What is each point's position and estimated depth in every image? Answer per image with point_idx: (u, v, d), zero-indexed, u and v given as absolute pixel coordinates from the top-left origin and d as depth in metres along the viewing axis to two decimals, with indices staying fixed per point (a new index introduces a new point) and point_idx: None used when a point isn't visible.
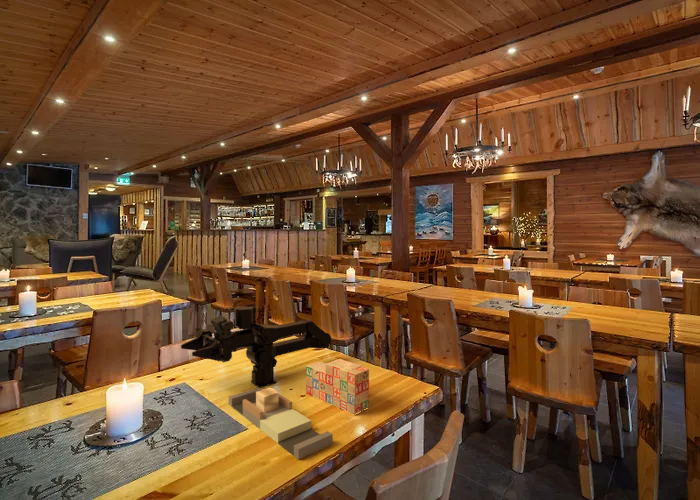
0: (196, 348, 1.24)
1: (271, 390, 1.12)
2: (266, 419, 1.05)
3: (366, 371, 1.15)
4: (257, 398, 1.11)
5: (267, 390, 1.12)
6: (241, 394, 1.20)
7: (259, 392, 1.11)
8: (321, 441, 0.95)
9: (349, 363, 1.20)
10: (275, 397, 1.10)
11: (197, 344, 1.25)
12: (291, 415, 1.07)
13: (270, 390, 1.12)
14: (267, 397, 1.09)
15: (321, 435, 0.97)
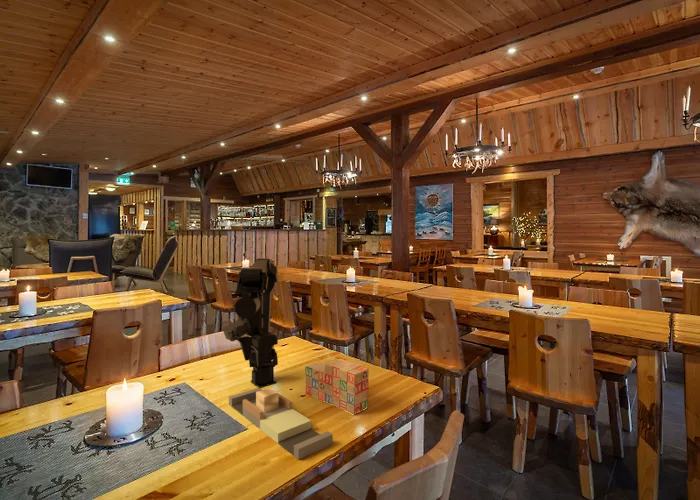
0: (251, 343, 1.21)
1: (271, 390, 1.12)
2: (266, 419, 1.05)
3: (365, 371, 1.15)
4: (257, 398, 1.11)
5: (267, 390, 1.12)
6: (241, 394, 1.20)
7: (259, 392, 1.11)
8: (321, 441, 0.95)
9: (348, 363, 1.20)
10: (275, 397, 1.10)
11: (247, 343, 1.20)
12: (291, 415, 1.07)
13: (270, 390, 1.12)
14: (267, 397, 1.09)
15: (321, 435, 0.97)
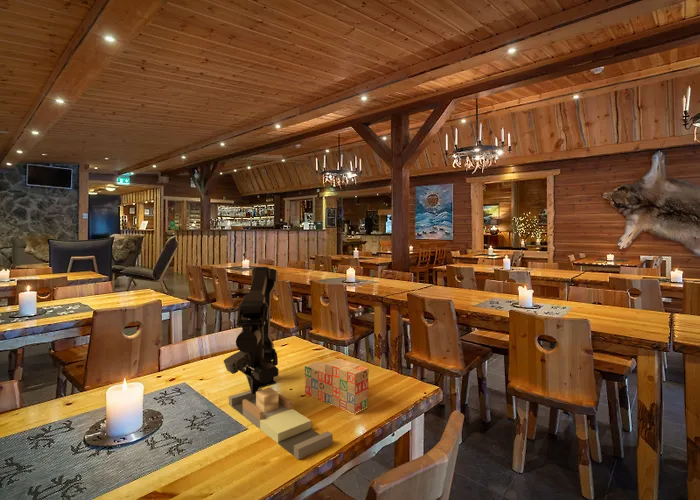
0: None
1: (271, 390, 1.12)
2: (266, 419, 1.05)
3: (365, 370, 1.16)
4: (257, 398, 1.11)
5: (267, 390, 1.12)
6: (241, 394, 1.20)
7: (259, 392, 1.11)
8: (321, 441, 0.95)
9: (348, 363, 1.21)
10: (275, 397, 1.10)
11: None
12: (291, 415, 1.07)
13: (270, 390, 1.12)
14: (267, 397, 1.09)
15: (321, 435, 0.97)
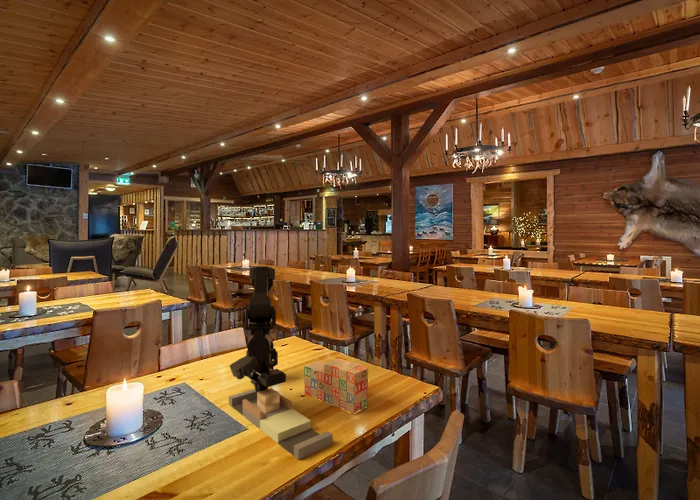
0: None
1: (272, 391, 1.12)
2: (266, 419, 1.05)
3: (365, 370, 1.16)
4: (258, 398, 1.10)
5: (268, 391, 1.12)
6: (241, 394, 1.20)
7: (260, 393, 1.10)
8: (321, 441, 0.95)
9: (348, 362, 1.21)
10: (276, 397, 1.10)
11: None
12: (291, 415, 1.07)
13: (271, 391, 1.12)
14: (268, 397, 1.08)
15: (321, 435, 0.97)
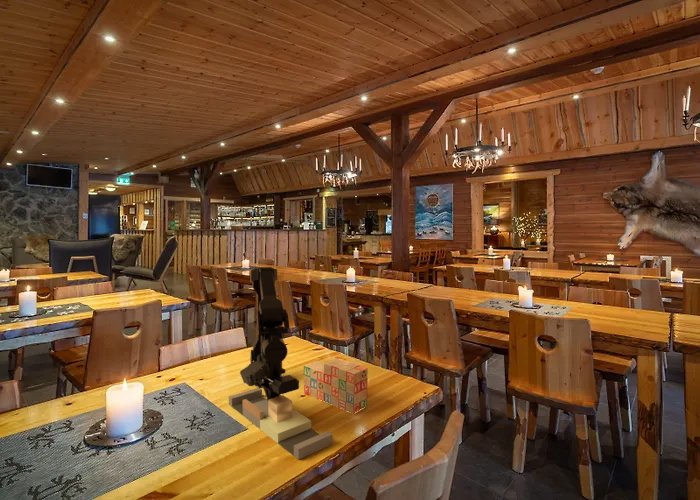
0: None
1: (284, 398, 1.07)
2: (266, 419, 1.05)
3: (364, 370, 1.16)
4: (269, 406, 1.06)
5: (280, 398, 1.07)
6: (241, 394, 1.20)
7: (272, 400, 1.06)
8: (321, 441, 0.95)
9: (347, 362, 1.21)
10: (288, 405, 1.05)
11: None
12: None
13: (283, 398, 1.07)
14: (280, 405, 1.04)
15: (321, 435, 0.97)
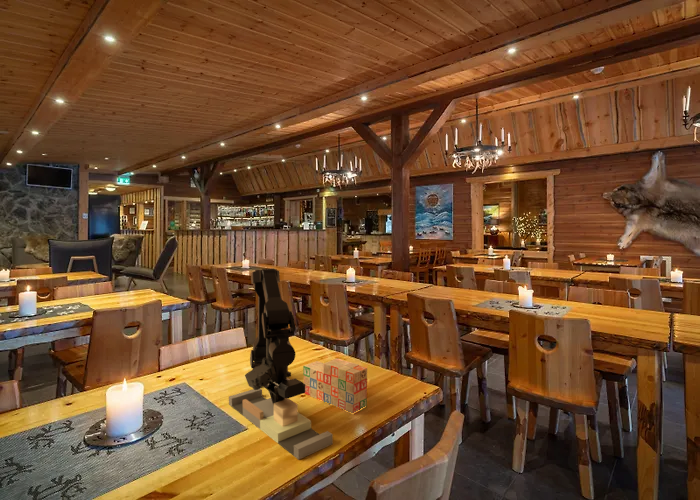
0: None
1: (290, 401, 1.05)
2: (266, 419, 1.05)
3: (364, 370, 1.16)
4: (275, 410, 1.04)
5: (285, 401, 1.05)
6: (241, 394, 1.20)
7: (277, 404, 1.04)
8: (321, 441, 0.95)
9: (347, 362, 1.21)
10: (294, 409, 1.03)
11: None
12: None
13: (288, 401, 1.05)
14: (286, 409, 1.02)
15: (321, 435, 0.97)
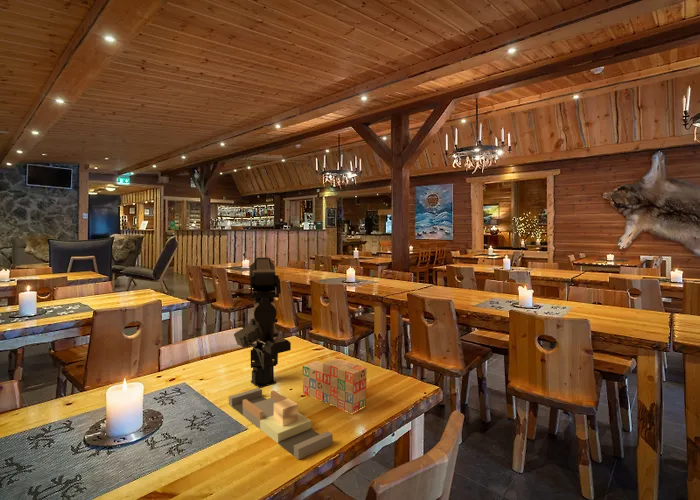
0: None
1: (290, 401, 1.05)
2: (266, 419, 1.05)
3: (363, 370, 1.16)
4: (275, 410, 1.04)
5: (285, 401, 1.05)
6: (241, 394, 1.20)
7: (277, 404, 1.04)
8: (321, 441, 0.95)
9: (346, 362, 1.21)
10: (294, 409, 1.03)
11: None
12: None
13: (288, 401, 1.05)
14: (286, 409, 1.02)
15: (321, 435, 0.97)
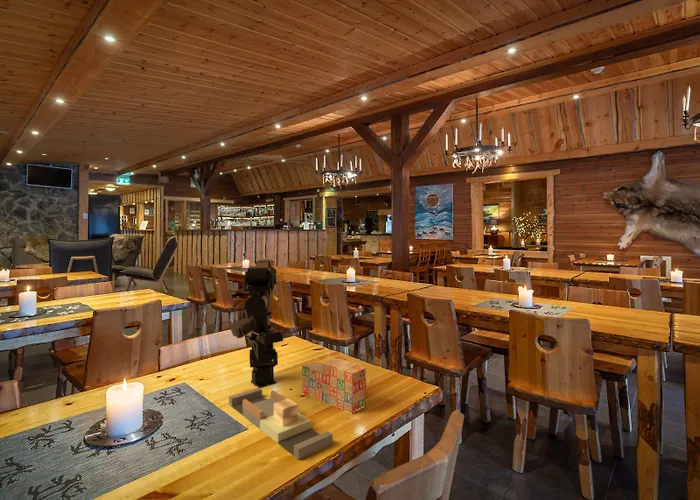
0: None
1: (290, 401, 1.05)
2: (266, 419, 1.05)
3: (363, 370, 1.16)
4: (275, 410, 1.04)
5: (285, 401, 1.05)
6: (241, 394, 1.20)
7: (277, 404, 1.04)
8: (321, 441, 0.95)
9: (345, 362, 1.21)
10: (294, 409, 1.03)
11: None
12: None
13: (288, 401, 1.05)
14: (286, 409, 1.02)
15: (321, 435, 0.97)
